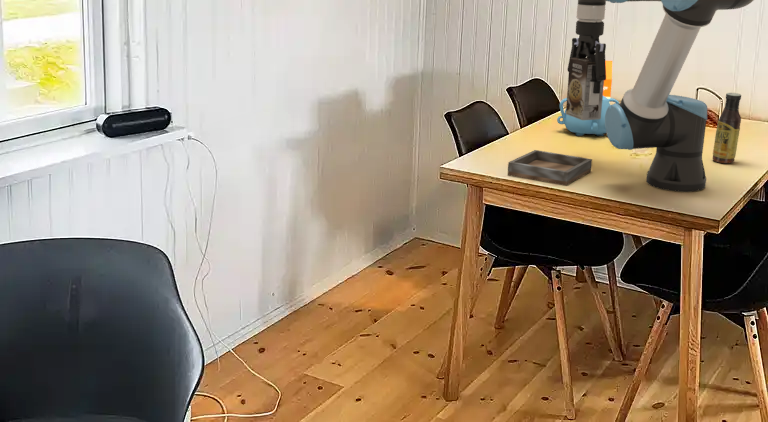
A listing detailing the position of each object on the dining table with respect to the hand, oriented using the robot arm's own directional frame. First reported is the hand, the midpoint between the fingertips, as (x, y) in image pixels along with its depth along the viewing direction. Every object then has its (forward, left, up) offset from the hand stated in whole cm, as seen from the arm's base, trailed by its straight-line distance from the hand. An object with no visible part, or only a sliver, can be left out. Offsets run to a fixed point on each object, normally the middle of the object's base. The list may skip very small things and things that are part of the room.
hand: (584, 101), depth 280 cm
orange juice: (+47, -34, -17) cm, 61 cm away
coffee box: (0, 0, -5) cm, 5 cm away
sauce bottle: (-13, -40, -17) cm, 45 cm away
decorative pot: (+30, -21, -17) cm, 41 cm away
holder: (-10, +15, -17) cm, 25 cm away
